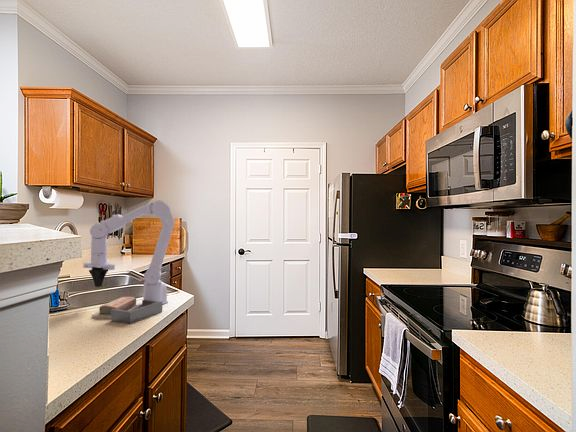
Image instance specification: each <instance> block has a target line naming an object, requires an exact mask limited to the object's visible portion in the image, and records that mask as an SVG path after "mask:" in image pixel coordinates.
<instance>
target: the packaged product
mask: <svg viewBox="0 0 576 432" xmlns="http://www.w3.org/2000/svg"><path fill="white" fill-rule="evenodd" d="M140 307H142V306H141V305H139V304H137V298H136V297H134V296H121V297H118V298H116V299H114V300H111V301H109V302H107V303H104V304H102V305H101V306H99V308H98V309H99V311H97V312H95V313H93V314H92V315H91V316H92V319H102V320H103V319H108V320H109V319H110V320H111V310H112V309H119V310H127V311H131V310H134V309H137V308H140Z"/></svg>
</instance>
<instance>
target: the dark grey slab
mask: <svg viewBox="0 0 576 432" xmlns="http://www.w3.org/2000/svg"><path fill="white" fill-rule="evenodd" d="M141 301H142V302H141V303H142V306H141V307H139V308H137V309H134V310H131V311H127V310H119V309H112V310H111V319H110V322H114V323H122V324H127V325H130V324H133V323H136V322H139V321H141V320H143V319H147V318H149V317H151V316H154V315H157V314H159V313H160V314H161V313H162V312H163V304H162V301H153V300H143V299H142V300H141Z"/></svg>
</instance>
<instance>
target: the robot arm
mask: <svg viewBox="0 0 576 432" xmlns="http://www.w3.org/2000/svg"><path fill="white" fill-rule="evenodd" d="M143 215H155V216H156V217H158V219H159V220H160V222H161V223H162V226H161V230H160V233H159V236H158V238H157V242H156V246H155V248H154V252H153V256H152V258H151V262H150V264H149V267H148V268H147V270H146V271H145V273H144V275H143V279H144V282H143V297H142V298H143V299H142V300H153V301H162V305H164V304H167V303H169V301H168V299H167V298H168V297H167V296H168V295H167V294H168V293H167V291H168V287H167V285H166V283H165V282H163V280H161V276H162V273H163V272H162V266H163V264H164V263H163V262H164V260H165V257H166V253H167V249H168V246H169V242H170V241H171V238H172V237H171V236H172V233H173V230H174V227H175V223H176V221H175V218H174V215H173V212H172V209H171V207H170V206H169V205H168V203H167V202H165V201H164V200H155V201H153V202H149V203H146V204H143V205H141V206H139V207H138V208H136V209H133V210H131V211H130V212H127V213H125V214H123V215H122V214H119V213H118V214H112V215H111V217H109V218H107V219H105V220H103V219H102V220H100V222H99V223H94V224H93V225H92V226H91V227H90V229H89V233H90V236H91V242H90V243H91V244H90V246H91V247H90V262H83V265H82V266H83V269H86V268H88V269H89V270H88V272H89V275H91V278H92V280H93V282H94V283H93V284H94V287H96V288H100V287H102V286H103V283H104V279H105V277H106V275H107V274H108V272H109V271H114V270H115V269H116V268H115V267H116V265H115V264H111V263H108V261H107V259H108V258H107V257H108V241H107V239H108V234H113V233H114V232H116V231H119V230H121V229H123V228H125V227H126V225H127V222H130V221H133V220H135V219H137V218H139V217H141V216H143ZM138 305H141V307H142V302H141V303H138Z"/></svg>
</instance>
